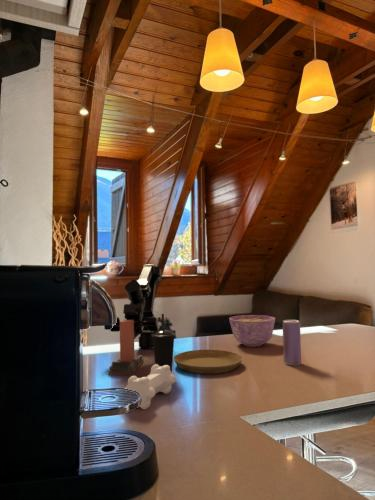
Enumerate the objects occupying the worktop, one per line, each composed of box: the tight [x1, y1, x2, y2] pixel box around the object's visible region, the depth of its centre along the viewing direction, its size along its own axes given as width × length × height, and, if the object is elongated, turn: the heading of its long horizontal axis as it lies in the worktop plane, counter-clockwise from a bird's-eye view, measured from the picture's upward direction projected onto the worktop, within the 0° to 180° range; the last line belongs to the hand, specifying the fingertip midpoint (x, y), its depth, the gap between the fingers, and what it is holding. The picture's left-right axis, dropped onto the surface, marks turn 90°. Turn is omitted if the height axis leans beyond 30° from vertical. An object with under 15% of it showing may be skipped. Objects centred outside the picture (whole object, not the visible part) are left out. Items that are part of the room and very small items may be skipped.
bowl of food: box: [228, 314, 276, 348], centre depth 164 cm, size 20×20×12 cm
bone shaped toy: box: [124, 363, 177, 410], centre depth 100 cm, size 15×9×8 cm, turn 155°
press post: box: [119, 319, 137, 366], centre depth 132 cm, size 5×5×15 cm
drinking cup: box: [151, 313, 176, 372], centre depth 120 cm, size 8×8×20 cm
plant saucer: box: [173, 349, 243, 375], centre depth 132 cm, size 24×24×3 cm
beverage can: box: [282, 319, 302, 367], centre depth 132 cm, size 6×6×15 cm
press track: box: [107, 354, 144, 376], centre depth 131 cm, size 16×8×4 cm, turn 173°
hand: (129, 343), depth 135 cm, fingers closed, pressing on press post
